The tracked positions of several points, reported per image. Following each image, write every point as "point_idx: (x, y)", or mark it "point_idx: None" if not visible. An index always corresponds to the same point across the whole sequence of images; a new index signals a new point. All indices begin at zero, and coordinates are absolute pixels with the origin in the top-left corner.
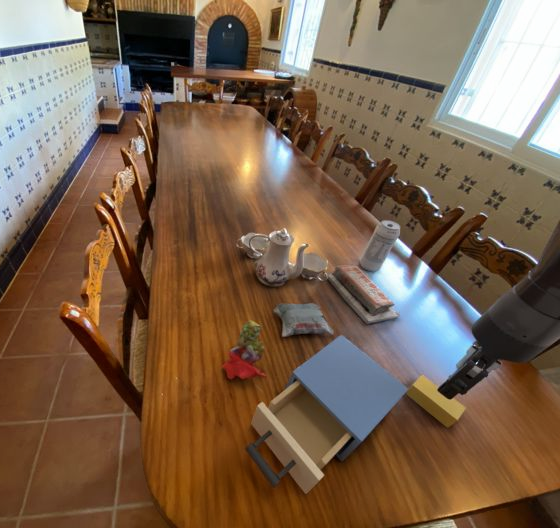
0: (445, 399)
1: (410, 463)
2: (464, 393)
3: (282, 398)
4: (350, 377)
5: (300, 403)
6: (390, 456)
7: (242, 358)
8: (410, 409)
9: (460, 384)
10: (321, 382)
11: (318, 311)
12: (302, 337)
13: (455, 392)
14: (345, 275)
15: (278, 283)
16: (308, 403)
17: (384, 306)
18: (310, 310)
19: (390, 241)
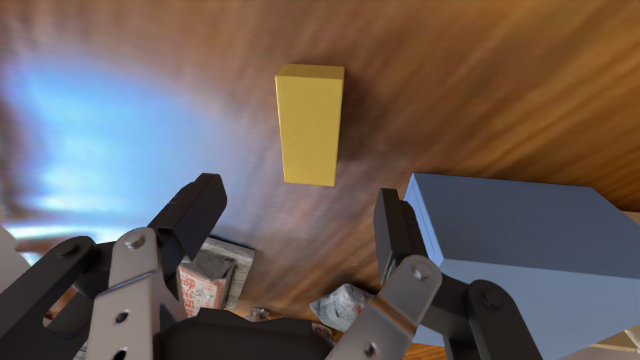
0: (304, 125)
1: (516, 95)
2: (519, 314)
3: (614, 345)
4: None
5: None
6: (523, 131)
7: None
8: (367, 143)
9: (471, 333)
10: (554, 341)
11: (335, 321)
12: (374, 287)
13: (422, 242)
14: None
15: (321, 333)
16: None
17: (205, 273)
18: (346, 328)
19: (77, 357)
